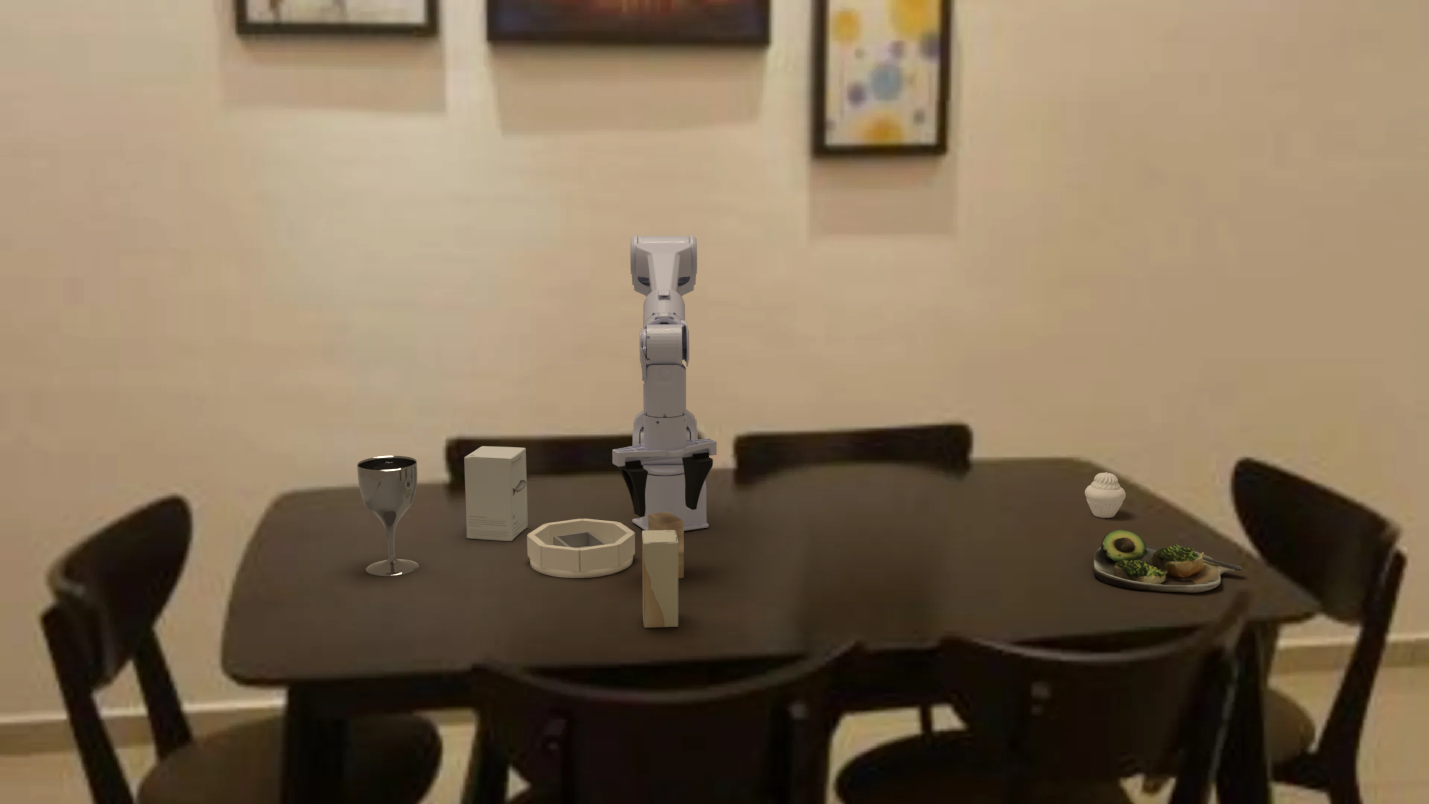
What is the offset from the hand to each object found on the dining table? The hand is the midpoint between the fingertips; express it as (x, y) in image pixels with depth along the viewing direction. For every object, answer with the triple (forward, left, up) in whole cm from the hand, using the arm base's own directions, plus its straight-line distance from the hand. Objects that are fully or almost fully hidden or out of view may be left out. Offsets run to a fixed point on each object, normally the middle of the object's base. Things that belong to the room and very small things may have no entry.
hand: (665, 511), depth 186 cm
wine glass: (+33, -19, -9) cm, 39 cm away
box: (+8, +16, -9) cm, 20 cm away
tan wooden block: (0, 0, -9) cm, 9 cm away
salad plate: (-60, +29, -9) cm, 67 cm away
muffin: (-73, +5, -9) cm, 74 cm away
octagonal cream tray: (+8, -10, -9) cm, 16 cm away
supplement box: (+15, -28, -9) cm, 33 cm away
